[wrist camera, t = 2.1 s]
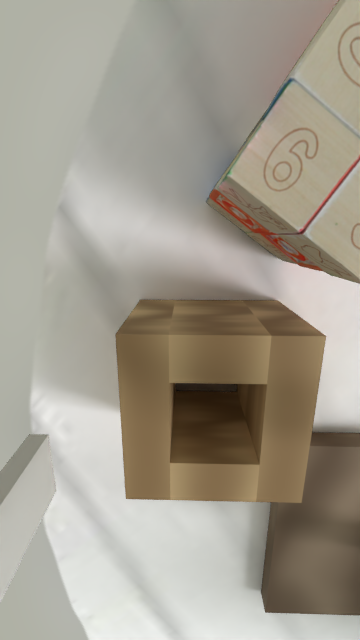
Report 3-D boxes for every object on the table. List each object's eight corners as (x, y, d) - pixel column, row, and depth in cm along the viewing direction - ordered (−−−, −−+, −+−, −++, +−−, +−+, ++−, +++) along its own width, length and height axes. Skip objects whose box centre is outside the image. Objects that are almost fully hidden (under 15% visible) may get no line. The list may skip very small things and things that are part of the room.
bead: (277, 300, 19) (325, 336, 13) (266, 420, 22) (301, 502, 15) (140, 299, 20) (115, 334, 13) (144, 418, 22) (125, 498, 15)
